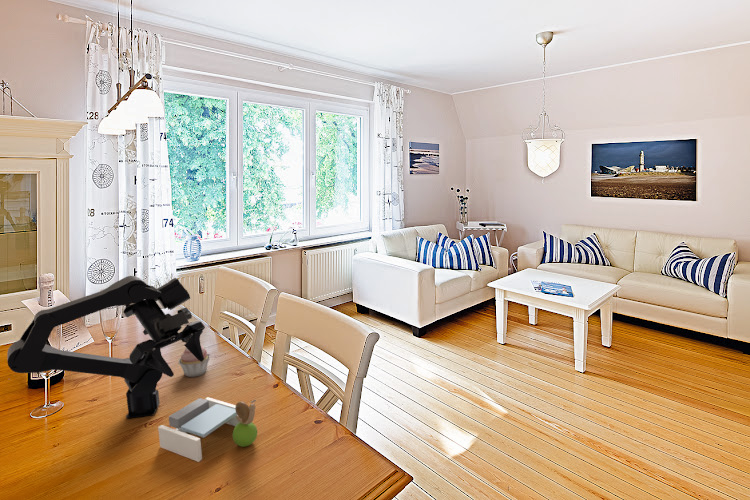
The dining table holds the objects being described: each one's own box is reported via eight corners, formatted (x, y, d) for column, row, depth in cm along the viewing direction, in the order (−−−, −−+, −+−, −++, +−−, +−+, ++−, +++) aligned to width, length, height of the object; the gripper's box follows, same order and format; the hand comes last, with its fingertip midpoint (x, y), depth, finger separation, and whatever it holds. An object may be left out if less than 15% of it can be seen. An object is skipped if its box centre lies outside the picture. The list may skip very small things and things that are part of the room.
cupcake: (214, 365, 140) (212, 335, 138) (207, 378, 131) (204, 347, 129) (184, 366, 139) (181, 337, 137) (175, 380, 130) (172, 349, 128)
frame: (198, 461, 93) (196, 441, 92) (160, 447, 98) (158, 427, 97) (245, 426, 106) (244, 407, 105) (209, 415, 111) (208, 397, 110)
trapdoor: (204, 441, 94) (203, 431, 94) (166, 427, 99) (165, 418, 99) (238, 416, 103) (238, 407, 103) (202, 405, 109) (202, 396, 108)
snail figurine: (247, 456, 95) (244, 406, 93) (228, 446, 98) (224, 398, 96) (266, 443, 99) (263, 395, 97) (246, 434, 103) (243, 387, 101)
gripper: (131, 311, 98) (170, 366, 96) (197, 291, 115) (231, 337, 112) (113, 339, 103) (149, 391, 100) (178, 315, 120) (211, 360, 117)
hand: (188, 368), depth 107 cm, fingers open, 9 cm apart
